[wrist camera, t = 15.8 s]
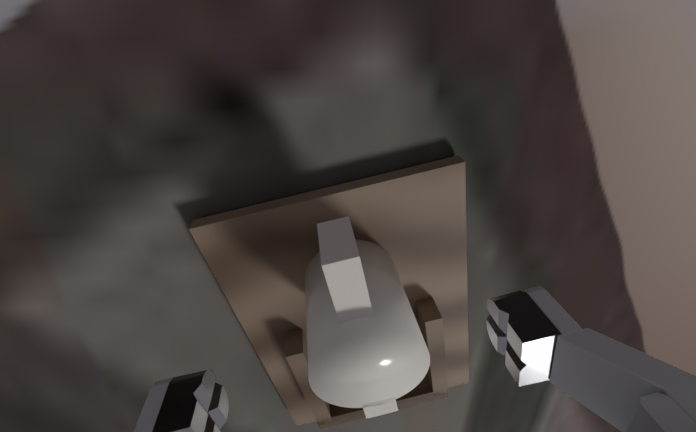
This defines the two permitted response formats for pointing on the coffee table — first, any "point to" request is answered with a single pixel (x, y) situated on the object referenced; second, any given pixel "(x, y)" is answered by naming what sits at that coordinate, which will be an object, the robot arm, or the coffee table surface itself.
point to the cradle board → (368, 224)
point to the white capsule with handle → (359, 325)
